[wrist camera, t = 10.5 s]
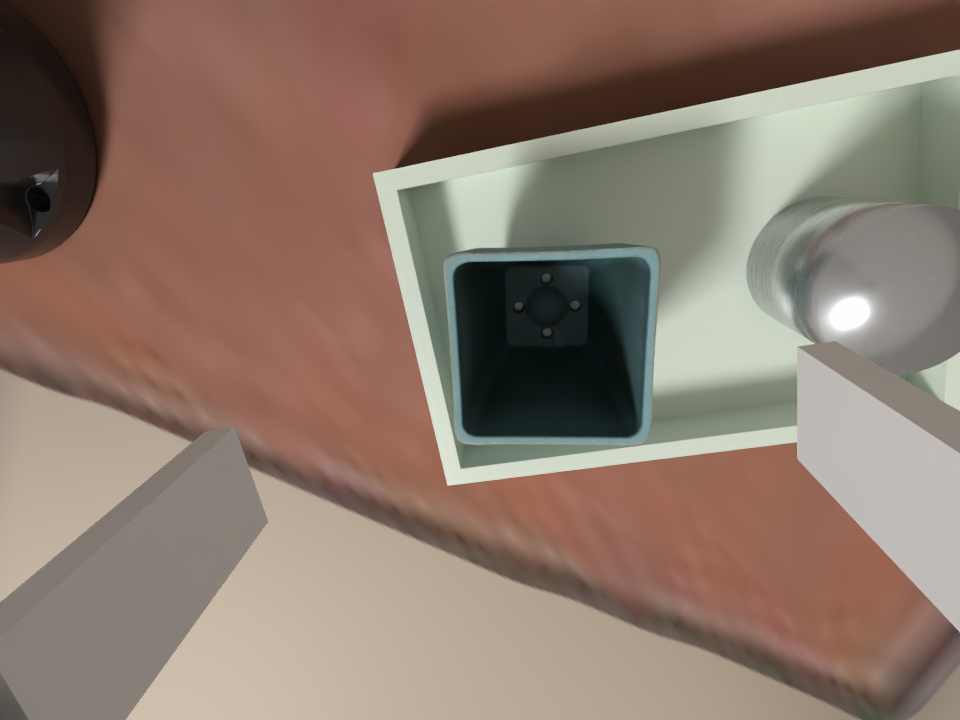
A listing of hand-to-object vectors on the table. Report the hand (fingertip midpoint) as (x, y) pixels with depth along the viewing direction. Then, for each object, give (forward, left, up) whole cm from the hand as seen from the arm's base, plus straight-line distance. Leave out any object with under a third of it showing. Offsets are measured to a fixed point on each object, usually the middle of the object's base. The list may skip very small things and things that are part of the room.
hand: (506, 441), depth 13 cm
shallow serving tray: (+8, -2, -21) cm, 22 cm away
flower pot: (+1, -2, -20) cm, 20 cm away
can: (+16, -2, -20) cm, 25 cm away
